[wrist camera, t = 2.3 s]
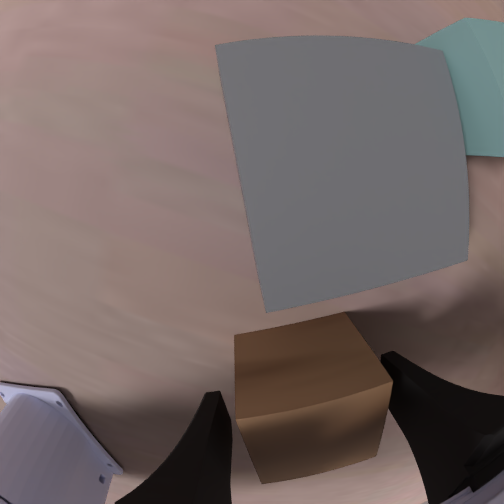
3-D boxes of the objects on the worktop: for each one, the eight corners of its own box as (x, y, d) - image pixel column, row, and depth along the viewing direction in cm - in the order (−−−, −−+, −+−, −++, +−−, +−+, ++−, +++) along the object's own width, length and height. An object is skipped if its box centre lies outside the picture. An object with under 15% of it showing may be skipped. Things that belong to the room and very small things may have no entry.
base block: (426, 241, 11) (467, 260, 9) (258, 277, 11) (266, 312, 8) (403, 69, 9) (442, 50, 6) (219, 76, 9) (214, 45, 6)
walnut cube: (344, 387, 14) (376, 456, 9) (254, 407, 14) (261, 484, 9) (343, 310, 12) (393, 380, 7) (234, 333, 12) (235, 419, 7)
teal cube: (490, 131, 10) (557, 132, 5) (438, 154, 10) (519, 158, 6) (456, 47, 9) (518, 25, 4) (396, 55, 9) (465, 17, 4)
